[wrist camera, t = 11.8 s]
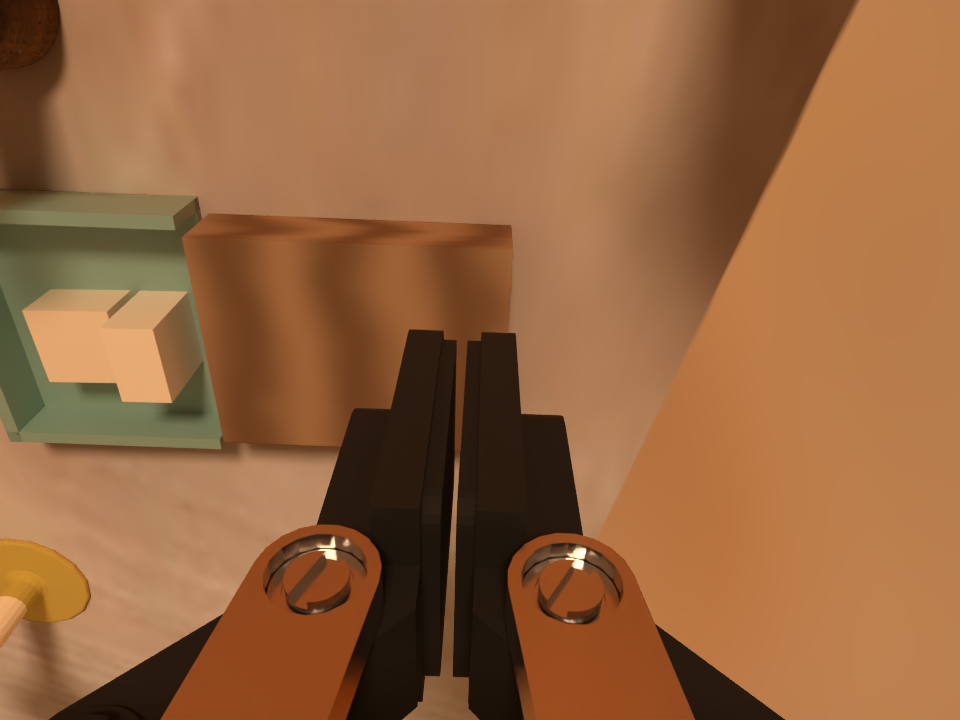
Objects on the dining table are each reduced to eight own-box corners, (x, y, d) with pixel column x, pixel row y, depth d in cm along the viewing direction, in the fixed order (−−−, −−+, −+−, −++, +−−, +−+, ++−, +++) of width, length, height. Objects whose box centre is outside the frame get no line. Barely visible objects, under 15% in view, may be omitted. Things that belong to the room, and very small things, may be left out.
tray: (197, 196, 39) (172, 216, 36) (238, 418, 47) (221, 449, 44) (-43, 187, 39) (-88, 206, 36) (41, 410, 47) (10, 441, 44)
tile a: (152, 329, 37) (99, 328, 37) (172, 402, 40) (122, 401, 40) (187, 291, 41) (140, 290, 41) (203, 360, 44) (158, 359, 44)
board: (511, 225, 39) (513, 250, 36) (499, 416, 46) (500, 452, 43) (208, 213, 39) (181, 237, 36) (243, 406, 46) (224, 442, 43)
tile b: (21, 310, 39) (51, 289, 41) (49, 382, 41) (75, 357, 44) (106, 311, 39) (130, 290, 41) (128, 383, 41) (150, 358, 44)
